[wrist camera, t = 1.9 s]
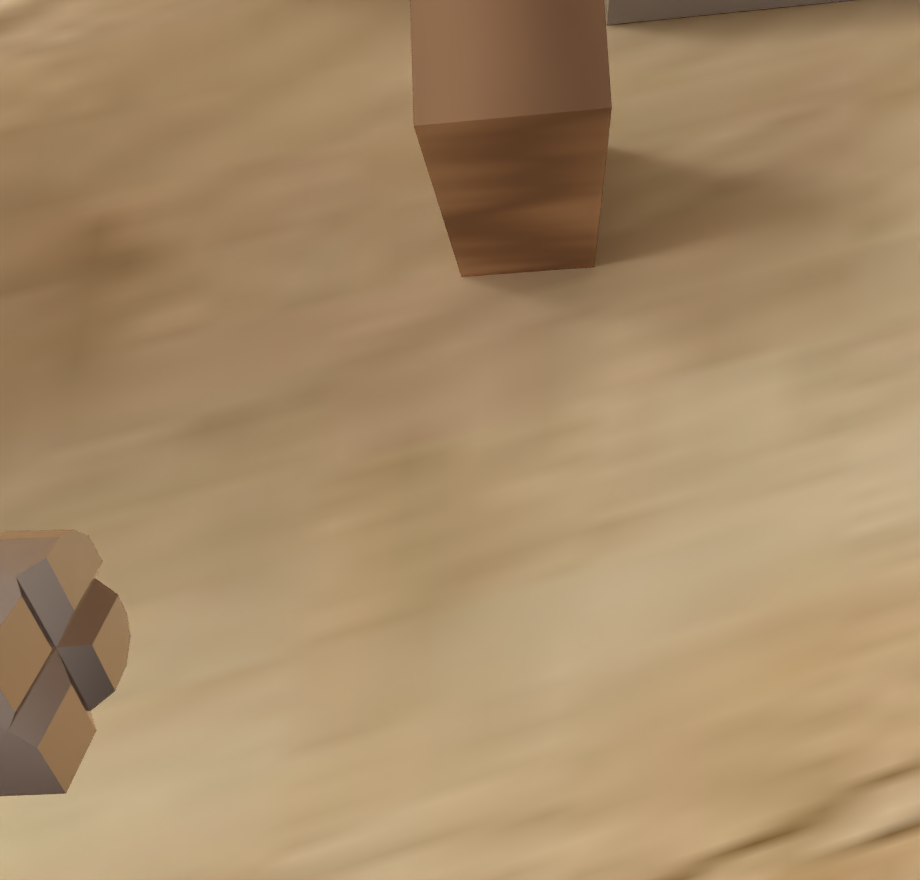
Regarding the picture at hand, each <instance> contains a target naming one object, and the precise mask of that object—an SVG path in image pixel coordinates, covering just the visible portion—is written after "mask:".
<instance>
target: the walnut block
mask: <svg viewBox="0 0 920 880" xmlns="http://www.w3.org/2000/svg"><path fill="white" fill-rule="evenodd" d="M410 8H411V42H412V77H413V112H414V128H415V131H416V134H417V137H418V140H419V144H420V147H421V150H422V153H423V156H424V159H425V163H426V166H427V169H428V172H429V175H430V178H431V182H432V185H433V188H434V191H435V194H436V197H437V201H438V204H439V207H440V210H441V213H442V216H443V220H444V223H445V226H446V229H447V232H448V235H449V239H450V242H451V245H452V248H453V251H454V254H455V258H456V261H457V264H458V267H459V270H460V273H461V277H463V276H477V275H491V274H504V273H518V272H531V271H545V270H559V269H572V268H586V267H594V264H595V255H596V246H597V236H598V227H599V218H600V209H601V200H602V191H603V182H604V173H605V164H606V155H607V146H608V136H609V127H610V118H611V109H612V105H611V91H610V77H609V63H608V48H607V34H606V20H605V6H604V0H410Z"/></svg>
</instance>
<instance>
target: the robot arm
mask: <svg viewBox="0 0 920 880" xmlns="http://www.w3.org/2000/svg"><path fill="white" fill-rule="evenodd" d="M101 564H102V559H101V557H100V555H99V554H98V552H97V550H96V548H95V546H94V544H93V542H92V540H91V539H90V537H89V535H87V534H84V533H81V532H78V531H75V530H47V531H5V532H0V796H15V795H41V794H66V792H67V790H68V788H69V786H70V784H71V782H72V780H73V778H74V776H75V774H76V772H77V769H78V767H79V765H80V763H81V761H82V759H83V757H84V755H85V753H86V751H87V749H88V747H89V745H90V743H91V740H92V738H93V736H94V734H95V732H96V728H95V724H94V721H93V718H92V715H91V710H92V709H93V708H95V707H96V706H97V705H98V704H99V703H101V702H102V701H103V700H104V699H106V698H107V697H108V696H109V695H111V694H112V693H113V692H114V691H115V690H116V688H117V686H118V683H119V681H120V679H121V677H122V674H123V672H124V670H125V668H126V665H127V658H128V650H129V643H130V630H129V624H128V619H127V613H126V611H125V609H124V606H123V604H122V602H121V600H120V598H119V595H118V594H116V593H115V592H114V591H112V590H111V589H109V588H108V587H107V586H105V585H104V584H102V583H101V582H100V581H98V580H97V579H95V578H96V576H97V573H98V571H99V568H100V566H101Z"/></svg>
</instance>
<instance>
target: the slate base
mask: <svg viewBox="0 0 920 880" xmlns="http://www.w3.org/2000/svg"><path fill="white" fill-rule="evenodd" d="M838 1H848V0H605V5H606V19H607V25H612V24H621V23H631V22H641V21H651V20H661V19H671V18H681V17H690V16H700V15H710V14H720V13H730V12H740V11H750V10H759V9H769V8H779V7H789V6H799V5H809V4H819V3H828V2H838Z"/></svg>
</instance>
